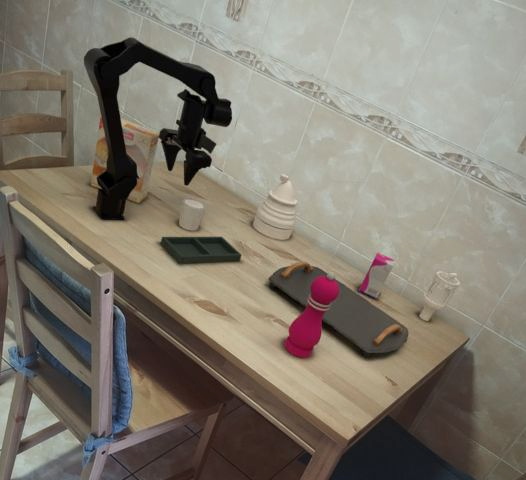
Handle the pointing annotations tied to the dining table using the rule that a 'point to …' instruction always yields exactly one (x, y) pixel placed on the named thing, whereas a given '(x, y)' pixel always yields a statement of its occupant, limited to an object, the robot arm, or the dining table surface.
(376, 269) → the supplement box
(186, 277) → the dining table surface
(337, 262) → the dining table surface
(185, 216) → the shot glass
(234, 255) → the divided green tray
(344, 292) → the serving tray
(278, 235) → the honey pot
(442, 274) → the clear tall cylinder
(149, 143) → the coffeecake box
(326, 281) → the pepper mill
